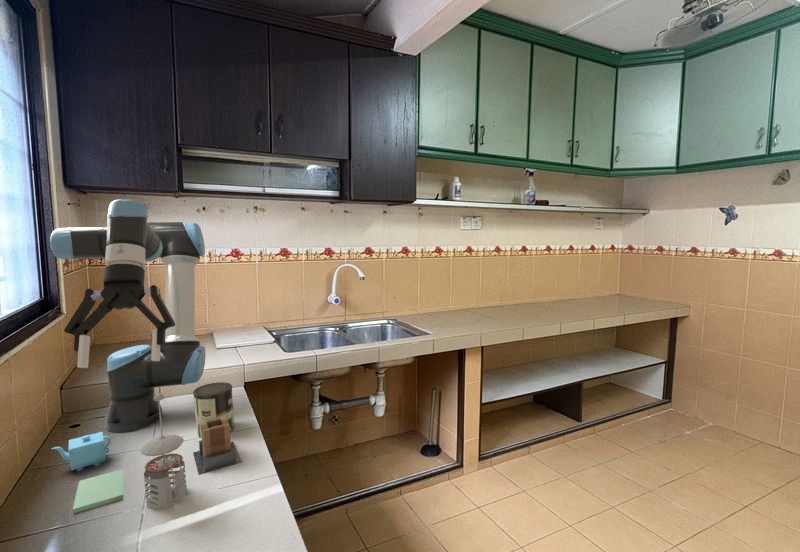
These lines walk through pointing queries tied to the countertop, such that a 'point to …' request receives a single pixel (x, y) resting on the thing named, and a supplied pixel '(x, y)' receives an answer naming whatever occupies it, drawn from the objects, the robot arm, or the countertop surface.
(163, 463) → the french press
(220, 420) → the sleeve
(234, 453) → the peg stand
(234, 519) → the countertop surface
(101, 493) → the board
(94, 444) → the teapot
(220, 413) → the coffee can
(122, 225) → the robot arm
